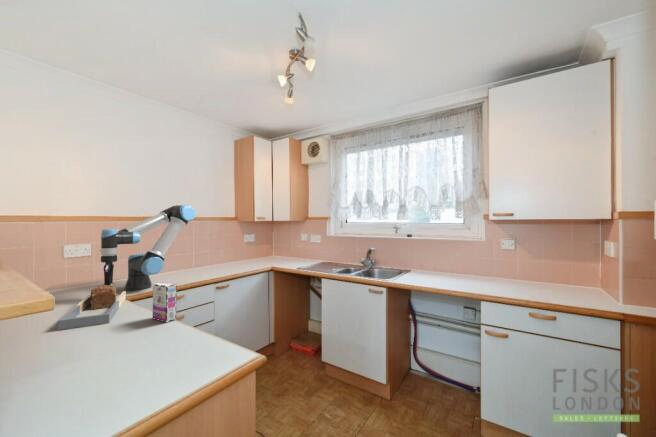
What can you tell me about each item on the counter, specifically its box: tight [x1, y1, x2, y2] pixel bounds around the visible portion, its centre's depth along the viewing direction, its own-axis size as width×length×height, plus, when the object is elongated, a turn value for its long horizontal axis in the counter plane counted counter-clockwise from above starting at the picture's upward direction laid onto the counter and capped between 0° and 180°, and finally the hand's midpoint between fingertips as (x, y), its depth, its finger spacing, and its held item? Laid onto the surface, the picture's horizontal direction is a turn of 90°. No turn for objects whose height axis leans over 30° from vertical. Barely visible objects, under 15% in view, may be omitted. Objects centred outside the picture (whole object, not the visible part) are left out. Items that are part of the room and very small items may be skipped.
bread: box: [90, 284, 117, 310], centre depth 149 cm, size 19×11×10 cm, turn 39°
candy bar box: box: [152, 281, 178, 322], centre depth 126 cm, size 11×5×16 cm, turn 62°
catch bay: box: [57, 290, 127, 331], centre depth 137 cm, size 17×46×4 cm, turn 29°
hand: (108, 295), depth 159 cm, fingers closed
